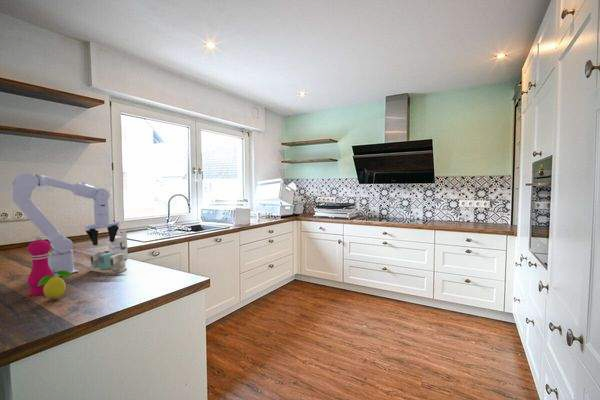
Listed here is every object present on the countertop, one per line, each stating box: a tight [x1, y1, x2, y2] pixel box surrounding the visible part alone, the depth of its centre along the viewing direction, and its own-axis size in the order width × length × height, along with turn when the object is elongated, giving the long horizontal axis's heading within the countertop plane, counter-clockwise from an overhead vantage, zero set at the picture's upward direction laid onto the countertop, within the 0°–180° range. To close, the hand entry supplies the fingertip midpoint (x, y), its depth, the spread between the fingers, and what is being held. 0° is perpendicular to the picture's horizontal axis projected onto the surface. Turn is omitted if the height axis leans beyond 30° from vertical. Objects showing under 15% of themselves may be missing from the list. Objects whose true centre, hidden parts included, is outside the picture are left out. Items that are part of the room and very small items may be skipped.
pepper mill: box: [26, 235, 55, 296], centre depth 100 cm, size 7×7×20 cm
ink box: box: [107, 229, 129, 260], centre depth 144 cm, size 9×5×15 cm, turn 62°
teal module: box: [98, 251, 115, 269], centre depth 124 cm, size 5×4×6 cm
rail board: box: [89, 250, 128, 275], centre depth 125 cm, size 6×15×7 cm, turn 68°
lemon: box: [38, 269, 73, 300], centre depth 93 cm, size 7×6×10 cm
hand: (103, 243), depth 132 cm, fingers open, 7 cm apart
